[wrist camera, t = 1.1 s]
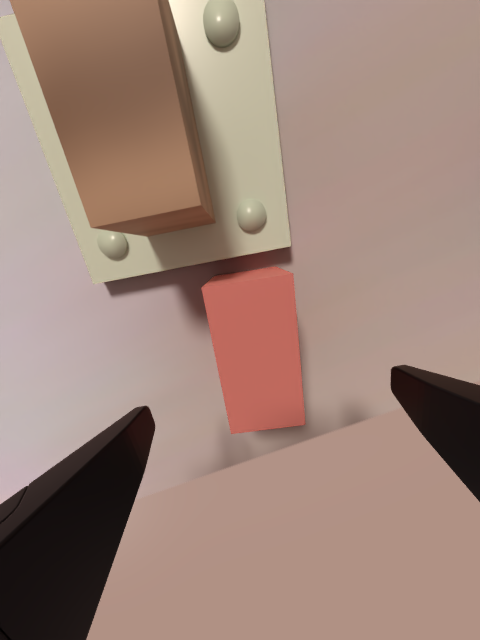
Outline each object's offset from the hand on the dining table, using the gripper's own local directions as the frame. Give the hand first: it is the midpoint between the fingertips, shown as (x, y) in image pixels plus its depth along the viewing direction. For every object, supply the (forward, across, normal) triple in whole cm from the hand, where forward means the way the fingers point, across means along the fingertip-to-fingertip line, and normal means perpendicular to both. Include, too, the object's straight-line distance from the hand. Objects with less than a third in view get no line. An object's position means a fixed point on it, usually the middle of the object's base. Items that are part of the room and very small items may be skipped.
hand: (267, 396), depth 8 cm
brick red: (+8, 0, 0) cm, 8 cm away
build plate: (+8, +3, -11) cm, 14 cm away
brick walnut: (+6, +3, -11) cm, 13 cm away
